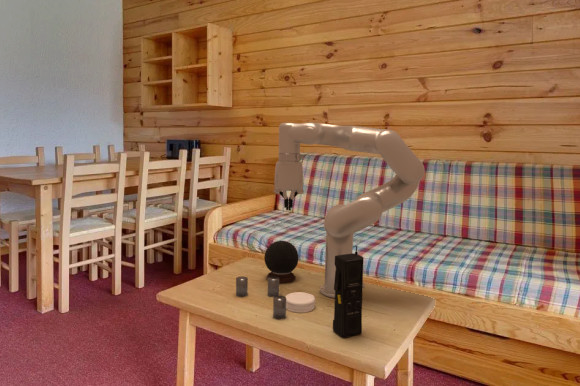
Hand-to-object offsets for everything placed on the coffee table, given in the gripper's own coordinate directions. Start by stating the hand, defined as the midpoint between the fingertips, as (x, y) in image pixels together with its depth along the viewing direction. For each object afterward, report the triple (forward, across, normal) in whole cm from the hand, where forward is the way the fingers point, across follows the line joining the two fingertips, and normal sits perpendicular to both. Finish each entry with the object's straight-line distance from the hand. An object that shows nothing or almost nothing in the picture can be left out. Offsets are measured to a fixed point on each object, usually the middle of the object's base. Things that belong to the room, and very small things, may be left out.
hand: (288, 209), depth 160 cm
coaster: (+30, -4, +17) cm, 34 cm away
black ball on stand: (+29, +2, -10) cm, 31 cm away
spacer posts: (+29, +10, +16) cm, 35 cm away
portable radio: (+29, -16, +36) cm, 49 cm away
